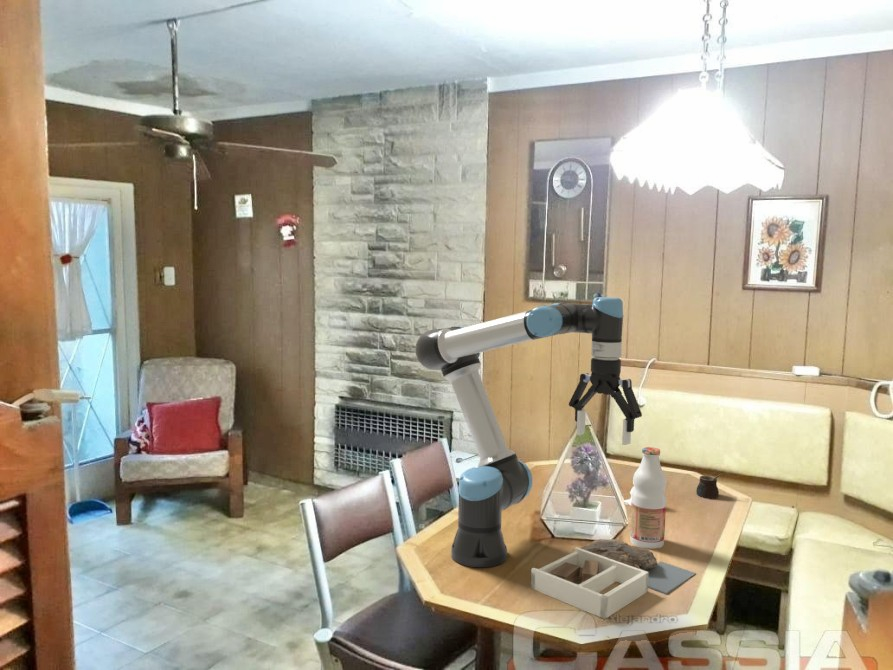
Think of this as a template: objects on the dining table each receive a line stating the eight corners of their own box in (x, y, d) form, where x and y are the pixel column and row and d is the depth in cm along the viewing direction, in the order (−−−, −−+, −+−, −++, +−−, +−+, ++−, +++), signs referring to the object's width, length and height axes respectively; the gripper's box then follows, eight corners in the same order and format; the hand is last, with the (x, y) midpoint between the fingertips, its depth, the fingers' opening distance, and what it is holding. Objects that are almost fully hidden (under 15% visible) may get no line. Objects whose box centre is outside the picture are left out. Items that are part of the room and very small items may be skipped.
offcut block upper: (581, 573, 175) (596, 575, 174) (585, 560, 182) (598, 562, 181) (581, 588, 175) (595, 590, 174) (584, 575, 183) (598, 576, 182)
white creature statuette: (616, 508, 233) (617, 472, 232) (631, 502, 239) (632, 467, 238) (641, 515, 226) (643, 479, 225) (656, 509, 232) (657, 474, 231)
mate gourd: (694, 496, 246) (695, 468, 245) (717, 498, 245) (718, 469, 244) (697, 503, 239) (698, 474, 238) (721, 504, 238) (722, 475, 237)
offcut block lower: (550, 586, 176) (551, 572, 176) (565, 575, 183) (565, 562, 182) (565, 591, 174) (565, 577, 173) (579, 579, 180) (580, 566, 180)
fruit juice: (623, 541, 205) (627, 446, 202) (647, 536, 209) (652, 443, 206) (645, 553, 197) (650, 455, 194) (671, 547, 201) (675, 451, 198)
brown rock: (668, 567, 187) (602, 546, 201) (669, 549, 187) (603, 529, 201) (642, 583, 177) (575, 560, 191) (643, 564, 177) (575, 542, 191)
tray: (530, 588, 174) (531, 568, 174) (575, 565, 188) (576, 547, 188) (604, 619, 160) (605, 597, 159) (647, 591, 174) (648, 572, 173)
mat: (629, 581, 179) (629, 579, 179) (660, 563, 190) (660, 561, 190) (666, 594, 172) (666, 592, 172) (696, 574, 183) (696, 573, 183)
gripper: (557, 354, 187) (554, 432, 189) (642, 364, 170) (638, 451, 172) (573, 351, 192) (571, 428, 195) (658, 361, 175) (654, 445, 177)
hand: (602, 439), depth 183 cm, fingers open, 13 cm apart
